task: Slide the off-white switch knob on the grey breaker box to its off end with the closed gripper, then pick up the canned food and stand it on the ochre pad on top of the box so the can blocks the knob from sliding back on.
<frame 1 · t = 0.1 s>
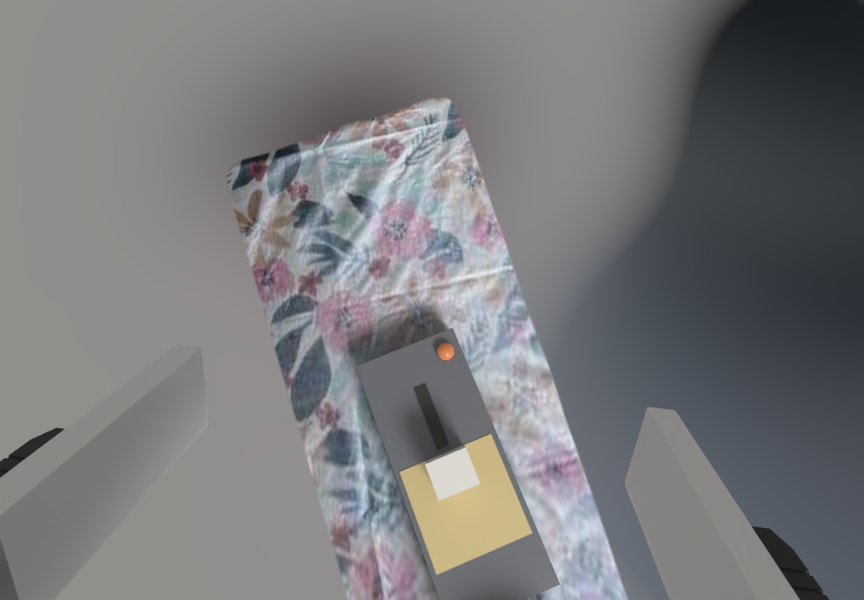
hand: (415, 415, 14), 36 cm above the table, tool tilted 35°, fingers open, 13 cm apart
breaker housing: (451, 465, 48), on the table
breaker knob: (452, 471, 41), point 7 cm above the table, slide at 0.0 cm
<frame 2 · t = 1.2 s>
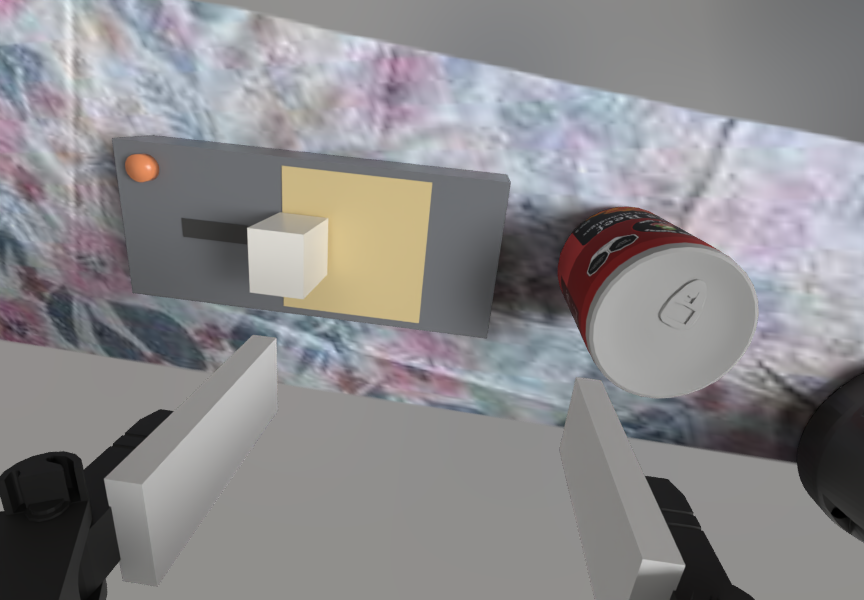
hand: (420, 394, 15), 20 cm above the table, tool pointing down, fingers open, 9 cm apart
canned food: (612, 261, 33), on the table
breaker housing: (325, 228, 34), on the table
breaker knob: (290, 253, 28), point 7 cm above the table, slide at 0.0 cm
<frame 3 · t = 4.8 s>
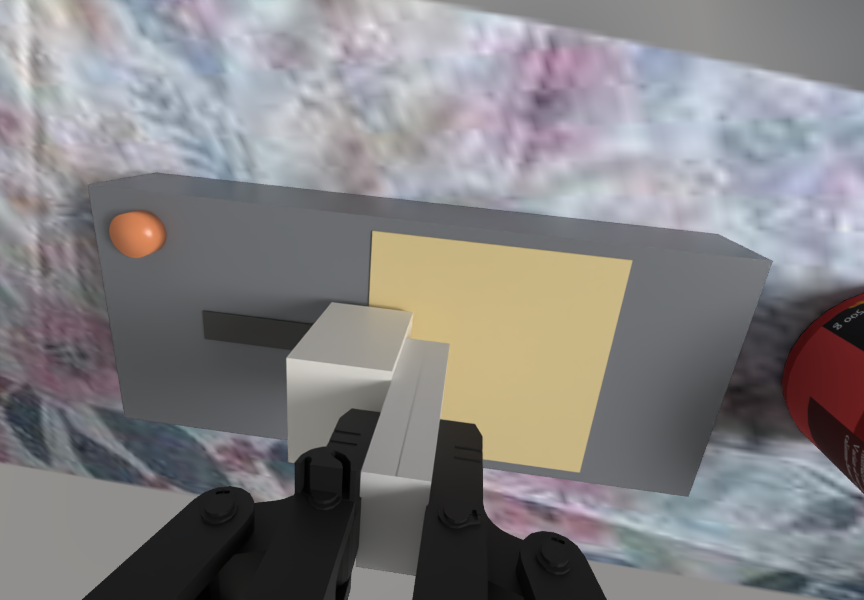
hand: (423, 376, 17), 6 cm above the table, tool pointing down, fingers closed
breaker housing: (418, 311, 22), on the table
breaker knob: (355, 380, 16), point 7 cm above the table, slide at 1.3 cm, touching gripper
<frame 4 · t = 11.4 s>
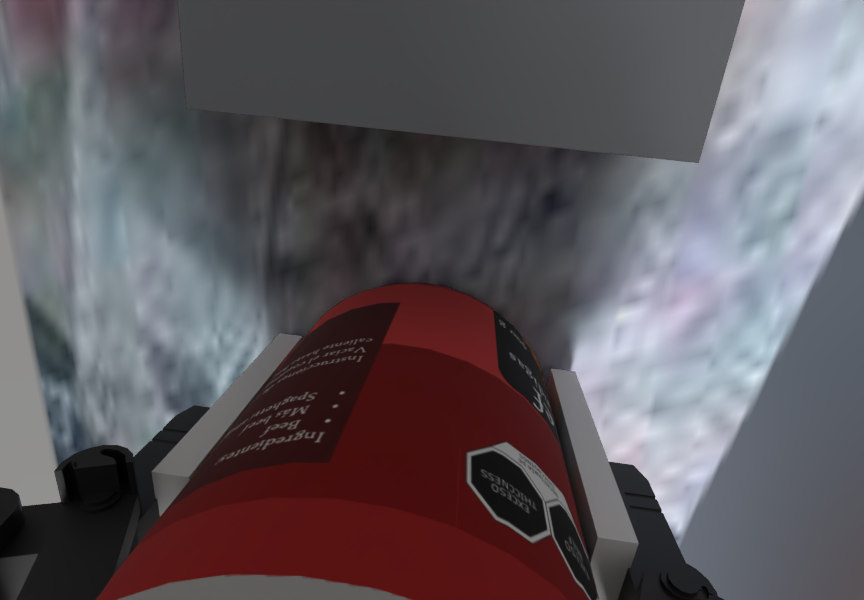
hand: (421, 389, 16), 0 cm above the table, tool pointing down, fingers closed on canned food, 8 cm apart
canned food: (422, 381, 16), on the table, touching gripper
when the fingers open (6 cm above the table, at t = 17.8 s): canned food drops 1 cm, resting on breaker housing.
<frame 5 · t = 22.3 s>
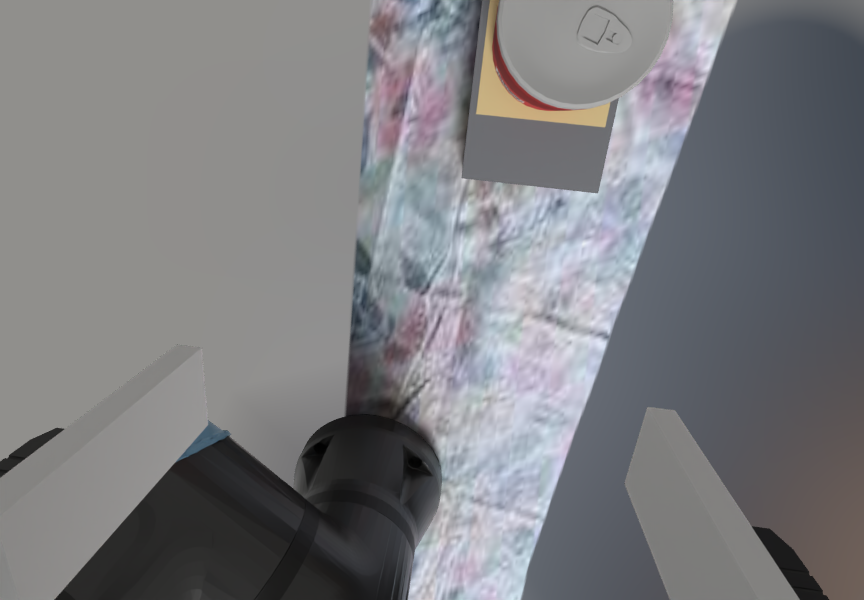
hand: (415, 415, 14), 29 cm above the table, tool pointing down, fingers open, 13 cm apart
canned food: (551, 50, 33), point 4 cm above the table, touching breaker housing
breaker housing: (552, 9, 35), on the table
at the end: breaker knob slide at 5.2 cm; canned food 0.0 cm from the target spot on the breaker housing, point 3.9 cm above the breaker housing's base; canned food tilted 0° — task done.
